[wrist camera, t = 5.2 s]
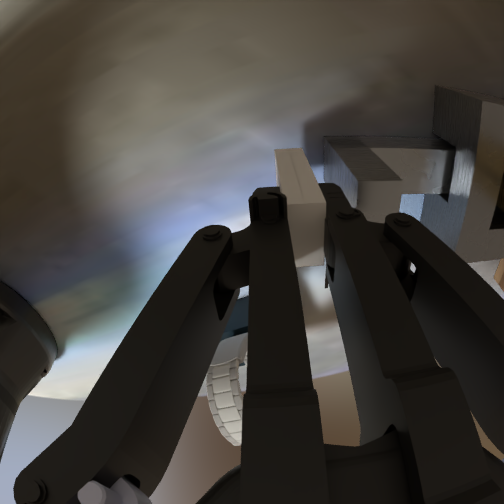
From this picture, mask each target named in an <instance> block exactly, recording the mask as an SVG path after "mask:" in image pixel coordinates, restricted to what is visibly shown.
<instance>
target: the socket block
mask: <svg viewBox="0 0 504 504" xmlns="http://www.w3.org/2000/svg"><path fill="white" fill-rule="evenodd" d="M433 133H434V134H436V135H437V136H439V137H441V138H443V139H444V140H446V141H448V142H449V143H451V144H452V145H454V146H456V147H457V148H456V156H455V163H454V170H453V176H452V182H451V188H450V193H441V194H425V197H424V203H423V209H422V215H421V220H420V223H422V224H423V225H424V226H425V227H426V228H428V229H429V230H430V231H431V232H432V233H434V234H435V235H436V236H437V237H438V238H439V239H441V240H442V241H443V242H444V243H445V244H446V245H447V246H448V247H450V248H451V249H452V250H453V251H454V252H455V253H456V254H457V255H458V256H460V257H461V258H462V259H463V260H464V261H465V262H466V263H471V262H479V261H487V260H495V259H503V258H504V212H503V211H502V210H501V209H500V208H499V207H498V206H497V205H496V202H497V198H498V194H499V190H500V185H501V181H502V176H503V171H504V99H502V98H498V97H494V96H489V95H485V94H480V93H476V92H471V91H466V90H460V89H455V88H449V87H443V86H436V85H435V104H434V121H433Z"/></svg>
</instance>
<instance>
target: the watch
mask: <svg viewBox="0 0 504 504" xmlns="http://www.w3.org/2000/svg"><path fill="white" fill-rule="evenodd" d="M248 305H249V296H247V297H244V298H241V299H238V300H237V301H236V304H235V306H234V308H233V311H232V313H231V316H230V318H229V321H228V323H227V325H226V328H225V330H224V333H223V335H222V338H221V340H220V342H219V345H218V347H217V350H216V352H215V355H214V357H213V359H212V362H211V364H210V367H209V369H208V372H207V378H206V384H207V385H208V386H207V395H208V399H209V405H210V409H211V412H212V414H213V418H214V421H215V423H216V425H217V427H218V428H219V430H220V432H221V433H222V435H223V436H224V437H225V438H226V439H227V440H228V441H229V442H231V443H232V444H233V445H241V439H242V407H243V396H242V395H241V388H240V383H239V381H238V380H237V379H239V373H238V369H239V366H243V365H246V367H247V346H248ZM231 390H232V391H231ZM226 391H228V392H226ZM221 392H223V393H221ZM216 393H218V394H216ZM238 394H240V395H238ZM212 399H215V400H212ZM234 405H236V406H234ZM229 406H231V407H229ZM223 407H225V408H223Z"/></svg>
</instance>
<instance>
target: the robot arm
mask: <svg viewBox="0 0 504 504" xmlns="http://www.w3.org/2000/svg"><path fill="white" fill-rule="evenodd" d="M274 151H275V166H276V181H277V187H263V188H257V189H256V190H255V191H254V192H253V195H252V196H251V197H250V198H249V200H248V201H249V211H250V220H251V224H250V225H249V226H248V227H247V228H245V229H243V230H241V231H238V232H235V233H231V230H230V229H229V228H228V227H226V226H222V225H209V226H206V227H204V228H202V229H200V230H198V231H197V232H196V233H195V234H194V235H193V237H192V238H191V240H190V241H189V242H188V244H187V245H186V247H185V248H184V250H183V251H182V252H181V254H180V255H179V257H178V258H177V260H176V261H175V262H174V264H173V265H172V267H171V268H170V270H169V271H168V273H167V274H166V275H165V277H164V278H163V280H162V281H161V283H160V284H159V286H158V287H157V289H156V290H155V292H154V293H153V295H152V296H151V298H150V299H149V301H148V302H147V304H146V305H145V307H144V308H143V310H142V311H141V313H140V314H139V316H138V317H137V319H136V320H135V322H134V323H133V325H132V326H131V328H130V330H129V331H128V333H127V334H126V336H125V337H124V339H123V340H122V342H121V344H120V345H119V347H118V348H117V350H116V351H115V353H114V355H113V356H112V358H111V359H110V361H109V363H108V364H107V366H106V368H105V369H104V371H103V372H102V374H101V376H100V377H99V379H98V381H97V382H96V384H95V386H94V387H93V389H92V391H91V392H90V394H89V396H88V397H87V399H86V401H85V403H84V404H83V406H82V408H81V410H80V411H79V413H78V415H77V416H76V418H75V420H74V422H73V423H72V425H71V426H70V427H69V428H68V429H67V430H66V431H65V432H64V433H63V434H61V435H60V436H59V437H58V438H57V439H56V440H55V441H54V442H53V443H52V444H51V445H50V446H49V447H47V448H46V449H45V450H44V451H43V452H42V453H41V454H40V455H39V456H38V457H36V458H35V459H34V460H33V461H32V462H31V463H30V464H29V465H28V466H27V467H26V468H24V469H23V470H22V471H21V472H20V474H19V475H18V477H17V478H16V480H15V484H14V488H13V489H14V499H15V501H16V504H152V503H151V501H150V499H149V497H150V496H151V495H152V493H153V492H154V490H155V489H156V487H157V486H158V484H159V483H160V481H161V479H162V478H163V476H164V473H165V472H166V470H167V467H168V465H169V463H170V461H171V458H172V456H173V453H174V451H175V449H176V446H177V444H178V441H179V439H180V437H181V434H182V432H183V429H184V427H185V424H186V422H187V420H188V417H189V415H190V413H191V410H192V408H193V405H194V403H195V400H196V398H197V396H198V393H199V391H200V388H201V386H202V384H203V381H204V379H205V376H206V374H207V372H208V369H209V367H210V364H211V362H212V359H213V357H214V355H215V352H216V350H217V347H218V345H219V342H220V340H221V338H222V335H223V333H224V330H225V328H226V325H227V323H228V321H229V318H230V316H231V313H232V311H233V308H234V306H235V304H236V301H237V299H238V296H239V293H240V288H242V287H245V286H248V285H249V305H248V346H247V387H246V393H245V394H244V397H243V407H242V439H241V464H240V465H238V466H236V467H235V468H233V469H232V470H230V471H229V472H227V473H226V474H225V475H224V476H222V477H221V478H220V479H219V480H218V481H217V482H216V483H215V484H214V485H213V486H212V487H211V488H210V489H209V491H207V493H206V494H205V495H204V496H203V497H202V498H201V499H200V500H199V501H198V502H197V503H196V504H504V459H503V460H502V461H501V460H500V459H498V458H497V457H496V456H494V455H493V454H491V453H490V452H489V451H487V450H486V449H485V448H484V447H482V445H481V442H480V438H479V435H478V432H477V429H476V426H475V423H474V420H473V418H472V415H471V412H472V414H473V416H474V417H475V419H476V420H477V422H478V423H479V425H480V427H481V428H482V429H483V431H484V432H485V434H486V435H487V437H488V438H489V439H490V440H491V442H492V443H493V444H494V445H495V446H496V447H497V449H499V450H500V451H501V452H502V453H503V454H504V300H503V298H502V297H501V296H500V295H499V294H498V293H497V292H496V291H495V290H494V289H493V288H492V287H491V286H490V285H489V284H488V283H487V282H486V281H485V280H484V279H483V278H482V277H481V276H480V275H479V274H478V273H477V272H476V271H474V270H473V269H472V268H471V267H470V266H469V265H468V264H467V263H466V262H465V261H464V260H463V259H462V258H461V257H460V256H458V255H457V254H456V253H455V252H454V251H453V250H452V249H451V248H450V247H448V246H447V245H446V244H445V243H444V242H443V241H442V240H441V239H439V238H438V237H437V236H436V235H435V234H434V233H432V232H431V231H430V230H429V229H428V228H426V227H425V226H424V225H423V224H422V223H420V222H419V221H418V220H417V219H416V218H414V217H412V216H410V215H407V214H406V213H400V212H397V213H391V214H388V215H387V216H386V217H385V223H377V222H371V221H367V219H366V217H365V216H364V214H363V213H362V212H361V211H360V210H358V209H356V208H353V207H351V205H350V203H349V201H348V199H347V198H346V196H345V194H344V193H343V191H342V189H341V187H340V186H338V185H336V184H335V183H318V182H317V180H316V178H315V176H314V173H313V171H312V169H311V167H310V165H309V162H308V160H307V158H306V156H305V154H304V152H303V150H302V148H292V149H275V150H274ZM324 255H325V258H326V278H325V288H328V284H329V287H330V291H331V294H332V298H333V302H334V306H335V310H336V314H337V318H338V323H339V327H340V331H341V335H342V339H343V344H344V348H345V353H346V357H347V362H348V366H349V371H350V375H351V380H352V385H353V389H354V395H355V400H356V404H357V410H358V415H359V421H360V427H361V434H360V446H356V447H353V446H340V445H331V444H324V443H323V434H322V425H321V417H320V409H319V402H318V395H317V392H316V390H315V389H314V388H313V383H312V375H311V367H310V359H309V352H308V344H307V337H306V330H305V323H304V316H303V310H302V303H301V296H300V290H299V283H298V277H297V271H296V267H306V266H319V265H324ZM411 262H412V263H413V264H414V265H415V267H416V270H415V273H413V272H412V271H411V270H410V266H411ZM56 356H57V345H56V342H55V339H54V337H53V335H52V333H51V331H50V330H49V328H48V326H47V325H46V323H45V322H44V321H43V319H42V318H41V317H40V316H39V315H38V313H37V312H36V311H35V310H34V309H33V308H32V307H31V306H30V305H29V304H28V303H27V302H26V301H25V300H24V299H23V298H22V297H21V296H19V295H18V294H17V293H16V292H14V291H13V290H12V289H11V288H9V287H8V286H6V285H5V284H3V283H2V282H0V462H1V458H2V454H3V451H4V448H5V444H6V442H7V438H8V435H9V432H10V429H11V427H12V424H13V421H14V418H15V415H16V412H17V410H18V407H19V405H20V403H21V401H22V400H23V399H24V398H25V397H26V396H27V395H28V394H29V393H30V392H31V390H32V389H33V388H34V387H35V386H36V385H37V384H38V383H39V381H40V380H41V379H42V378H43V377H45V376H46V375H47V374H48V373H49V371H50V370H51V367H52V365H53V363H54V361H55V358H56ZM434 357H435V358H434ZM435 359H436V360H437V362H438V363H439V364H440V366H441V367H442V368H441V367H439V366H438V364H437V363H436V361H435ZM470 411H471V412H470Z"/></svg>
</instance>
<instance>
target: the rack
mask: <svg viewBox="0 0 504 504" xmlns="http://www.w3.org/2000/svg"><path fill="white" fill-rule="evenodd" d="M494 279H495V280H496V282H497V283H498V284H499V286H500V287H501V289H502V290H503V291H504V258H503V259H501V260H500V263H499V265H498V268H497V270H496V273H495V275H494Z"/></svg>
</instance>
